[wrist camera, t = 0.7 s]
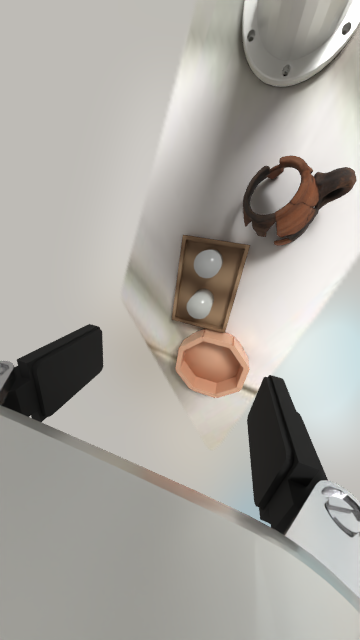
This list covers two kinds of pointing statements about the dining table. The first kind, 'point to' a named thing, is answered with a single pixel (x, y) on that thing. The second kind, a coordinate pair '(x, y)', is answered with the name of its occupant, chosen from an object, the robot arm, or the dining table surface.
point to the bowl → (212, 363)
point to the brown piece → (297, 198)
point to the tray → (208, 281)
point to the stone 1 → (208, 263)
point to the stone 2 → (200, 303)
